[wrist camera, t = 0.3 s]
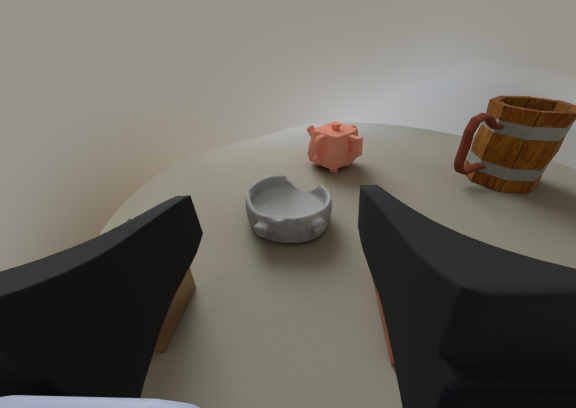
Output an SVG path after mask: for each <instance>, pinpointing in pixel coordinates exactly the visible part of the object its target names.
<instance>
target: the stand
mask: <svg viewBox="0 0 576 408" xmlns="http://www.w3.org/2000/svg"><path fill="white" fill-rule="evenodd" d="M195 287H196V285H195V282H194V279H193V276H192V273H191V270H190V267H189V269H188V271H187V273H186V275H185V277H184V279H183V281H182V283H181V285H180V287H179V289H178V291H177V292H176V294H175V296H174V299H173V301H172V303H171V305H170V308H169V310H168V313H167V315H166V318H165V321H164V323H163V326H162V329H161V332H160V334H159V337H158V340H157V343H156V346H155V349H154V351H158V352H165V350H166V348H167V346H168V344H169V342H170V340H171V338H172V335H173V333H174V331H175V329H176V327H177V325H178V323H179V321H180V319H181V317H182V315H183V312H184V310H185V308H186V306H187V304H188V302H189V300H190V298H191V296H192V294H193V292H194V289H195Z"/></svg>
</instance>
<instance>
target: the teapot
mask: <svg viewBox="0 0 576 408" xmlns="http://www.w3.org/2000/svg"><path fill="white" fill-rule="evenodd" d="M307 131H308V133H309V134H310V136H311V140H310V144H309V149H308V156H309V159H310V161H312V162H314V165H316V166H320V165H321V166H323V167H326V168H328V169H330V170H329V171H330V172H333V173H336V172H338V168H341V167H344V166H350V165H351V164H350V163H351V162H353V161H354V160H355V159H356V157H359V156H360V155H362V142H363V138H362V137H359V136H358V130H357V128H356V126H355V125H349V126H347V125H343V124H341V123H340V122H332V123H330V124H327V125H323V126H321V127H318V128H316V129H315V128H314V126H310V127H309V128H308V129H307Z"/></svg>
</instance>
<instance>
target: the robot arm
mask: <svg viewBox="0 0 576 408" xmlns="http://www.w3.org/2000/svg"><path fill="white" fill-rule="evenodd" d="M358 229H359V234H360V239H361V244H362V248H363V251H364V254H365V257H366V260H367V263H368V266H369V269H370V272H371V274H372V277H373V280H374V283H375V286H376V289H377V292H378V295H379V298H380V302H381V305H382V310H383V314H384V318H385V323H386V327H387V332H388V336H389V341H390V346H391V350H392V355H393V360H394V365H395V370H396V375H397V380H398V385H399V390H400V395H401V401H402V406H403V408H576V269H574V268H570V267H566V266H562V265H558V264H554V263H550V262H546V261H541V260H538V259H534V258H531V257H527V256H524V255H521V254H517V253H514V252H511V251H507V250H504V249H501V248H498V247H495V246H492V245H489V244H486V243H484V242H481V241H479V240H476V239H473V238H471V237H468V236H465V235H463V234H461V233H458V232H456V231H454V230H452V229H449V228H447V227H445V226H443V225H441V224H439V223H437V222H435V221H433V220H431V219H429V218H427V217H426V216H424V215H422V214H420V213H418V212H417V211H415V210H413V209H412V208H410V207H409V206H407V205H405V204H404V203H402V202H401V201H399V200H398V199H396V198H395V197H393V196H392V195H391V194H389V193H388V192H386V191H385V190H383V189H382V188H380V187H379V186H377V185H361V186H360V198H359V218H358ZM202 234H203V232H202V229H201V226H200V223H199V220H198V217H197V214H196V211H195V208H194V205H193V202H192V199H191V196H176V197H174V198H171V199H169V200H167V201H165V202H163V203H161V204H159V205H157V206H155V207H154V208H152V209H150V210H148V211H146V212H144V213H143V214H141V215H139V216H137V217H135V218H134V219H132V220H130V221H128V222H126V223H124V224H122V225H120V226H118V227H116V228H114V229H112V230H110V231H108V232H106V233H104V234H102V235H100V236H98V237H96V238H93V239H91V240H89V241H86V242H84V243H82V244H79V245H77V246H74V247H72V248H69V249H67V250H64V251H61V252H58V253H56V254H53V255H51V256H48V257H45V258H42V259H40V260H37V261H33V262H30V263H27V264H24V265H21V266H18V267H15V268H11V269H8V270H4V271H1V272H0V408H200V407H198V406H195V405H193V404H189V403H182V402H176V401H169V400H162V399H147V398H140V396H141V392H142V389H143V385H144V381H145V378H146V375H147V371H148V368H149V365H150V362H151V358H152V355H153V352H154V349H155V346H156V343H157V340H158V337H159V334H160V332H161V329H162V326H163V323H164V321H165V318H166V315H167V313H168V310H169V308H170V305H171V303H172V301H173V299H174V296H175V294H176V292H177V291H178V289H179V287H180V285H181V283H182V281H183V279H184V277H185V275H186V273H187V271H188V269H189V267H190V265H191V263H192V261H193V259H194V257H195V255H196V253H197V250H198V247H199V244H200V241H201V238H202Z"/></svg>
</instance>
